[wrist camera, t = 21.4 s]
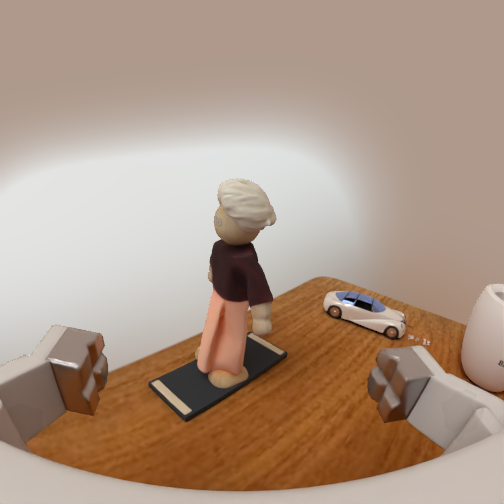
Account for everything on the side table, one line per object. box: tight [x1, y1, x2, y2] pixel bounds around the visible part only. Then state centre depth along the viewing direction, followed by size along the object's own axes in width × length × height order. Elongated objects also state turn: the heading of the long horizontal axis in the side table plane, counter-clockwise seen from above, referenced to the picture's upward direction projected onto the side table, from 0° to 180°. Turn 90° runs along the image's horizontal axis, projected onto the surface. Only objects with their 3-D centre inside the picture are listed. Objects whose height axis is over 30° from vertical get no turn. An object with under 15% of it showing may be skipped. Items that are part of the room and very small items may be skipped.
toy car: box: [324, 291, 430, 345], centre depth 28 cm, size 4×12×3 cm, turn 56°
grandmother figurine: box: [195, 179, 276, 388], centre depth 18 cm, size 8×4×13 cm, turn 38°
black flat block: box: [149, 332, 287, 421], centre depth 21 cm, size 10×4×1 cm, turn 139°
